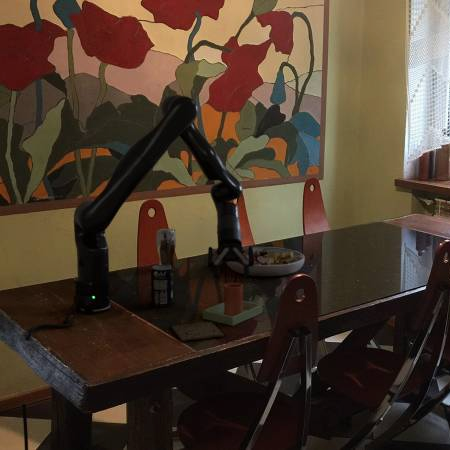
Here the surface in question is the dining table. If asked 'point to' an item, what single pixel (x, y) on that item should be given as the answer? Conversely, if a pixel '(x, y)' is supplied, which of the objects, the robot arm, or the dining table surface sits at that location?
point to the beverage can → (161, 285)
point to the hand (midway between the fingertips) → (232, 277)
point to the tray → (218, 316)
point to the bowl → (271, 262)
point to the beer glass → (166, 247)
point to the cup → (233, 299)
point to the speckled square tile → (197, 331)
